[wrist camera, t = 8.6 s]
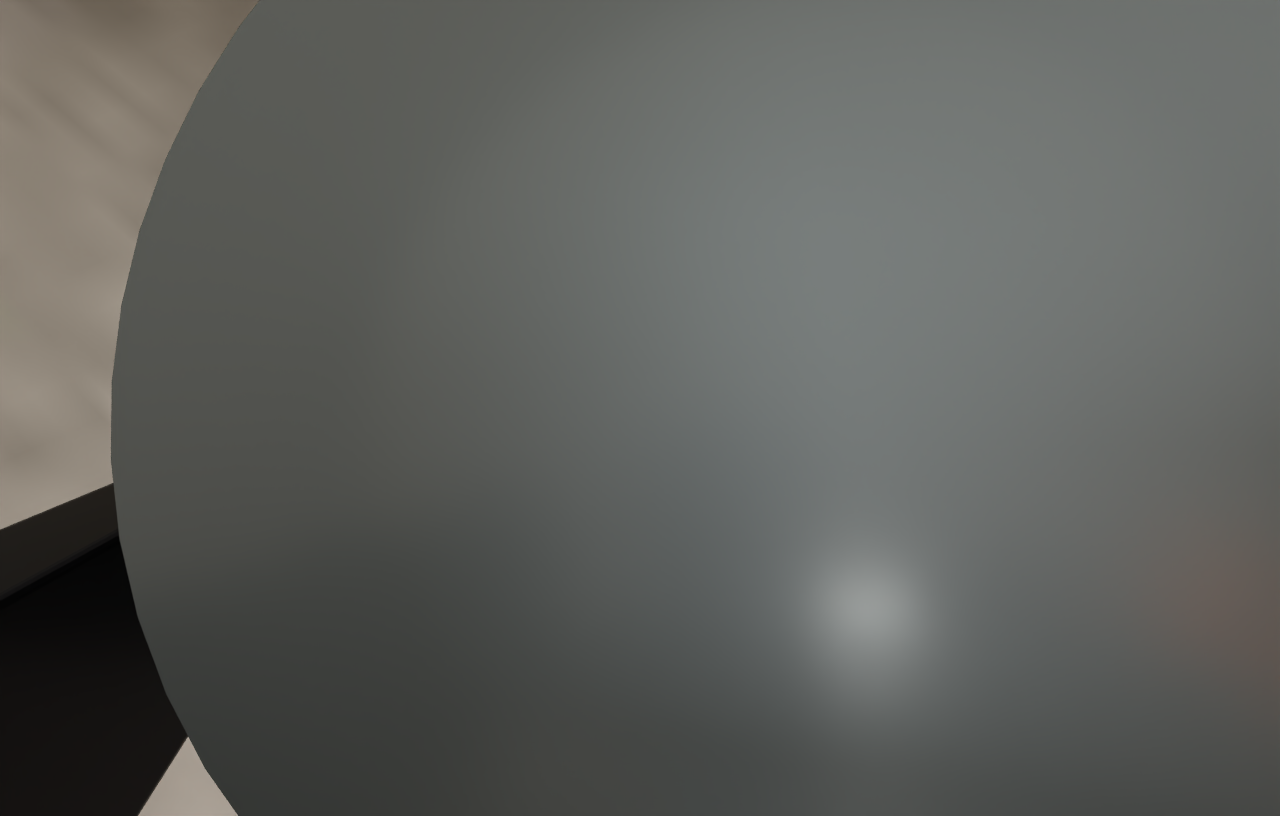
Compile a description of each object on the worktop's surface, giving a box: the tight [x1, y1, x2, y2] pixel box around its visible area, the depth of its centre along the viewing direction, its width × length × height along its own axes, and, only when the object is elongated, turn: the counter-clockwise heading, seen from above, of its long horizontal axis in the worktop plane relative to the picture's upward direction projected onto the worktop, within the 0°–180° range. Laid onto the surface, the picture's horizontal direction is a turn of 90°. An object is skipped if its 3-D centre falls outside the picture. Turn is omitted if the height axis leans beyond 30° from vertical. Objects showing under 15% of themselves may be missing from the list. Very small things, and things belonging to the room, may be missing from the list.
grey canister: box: [111, 0, 1280, 816], centre depth 12 cm, size 8×8×12 cm
